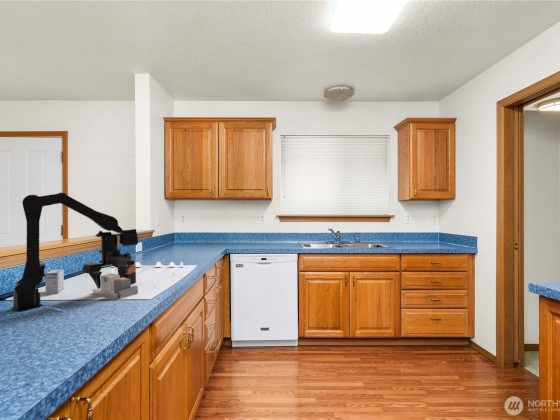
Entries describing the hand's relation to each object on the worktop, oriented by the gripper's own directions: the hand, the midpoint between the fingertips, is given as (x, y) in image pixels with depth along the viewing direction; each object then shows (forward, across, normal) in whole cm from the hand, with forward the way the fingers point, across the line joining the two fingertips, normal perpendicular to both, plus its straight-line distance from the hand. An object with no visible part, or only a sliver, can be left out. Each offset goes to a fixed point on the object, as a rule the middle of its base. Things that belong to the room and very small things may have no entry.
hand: (110, 285), depth 126 cm
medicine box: (+4, -8, +25) cm, 26 cm away
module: (+3, 0, 0) cm, 3 cm away
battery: (+4, +12, +6) cm, 14 cm away
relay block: (+3, 0, -8) cm, 8 cm away
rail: (+3, 0, -3) cm, 4 cm away
